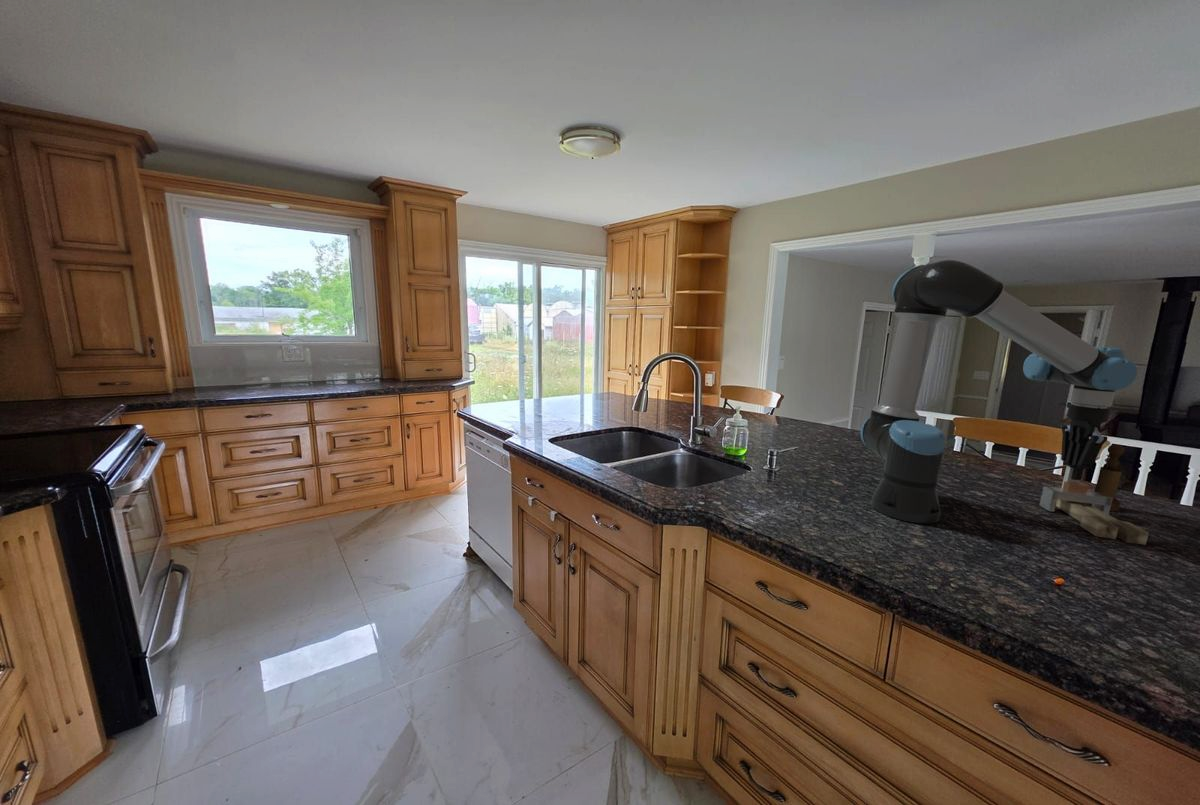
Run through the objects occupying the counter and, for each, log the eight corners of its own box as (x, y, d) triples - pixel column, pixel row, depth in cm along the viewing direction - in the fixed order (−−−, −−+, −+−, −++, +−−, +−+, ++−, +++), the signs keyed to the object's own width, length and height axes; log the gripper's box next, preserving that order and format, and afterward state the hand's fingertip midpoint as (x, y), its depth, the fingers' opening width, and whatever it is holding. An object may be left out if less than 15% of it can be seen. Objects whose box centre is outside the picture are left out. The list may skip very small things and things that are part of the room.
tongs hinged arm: (1095, 536, 106) (1100, 519, 105) (1040, 499, 128) (1044, 485, 127) (1129, 541, 104) (1134, 524, 103) (1067, 503, 126) (1071, 488, 125)
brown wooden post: (1126, 512, 121) (1143, 449, 118) (1098, 509, 123) (1114, 447, 119) (1104, 503, 128) (1120, 442, 124) (1077, 500, 129) (1092, 441, 126)
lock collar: (1048, 510, 120) (1054, 484, 119) (1039, 505, 124) (1045, 479, 122) (1107, 518, 116) (1114, 490, 115) (1096, 512, 120) (1103, 485, 119)
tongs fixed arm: (1116, 540, 104) (1120, 528, 104) (1052, 503, 126) (1054, 492, 126) (1145, 544, 103) (1149, 531, 102) (1075, 505, 125) (1077, 495, 124)
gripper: (1128, 411, 110) (1105, 500, 114) (1089, 402, 122) (1070, 483, 127) (1090, 408, 112) (1068, 496, 117) (1055, 400, 124) (1037, 479, 129)
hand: (1069, 489), depth 122 cm, fingers closed
